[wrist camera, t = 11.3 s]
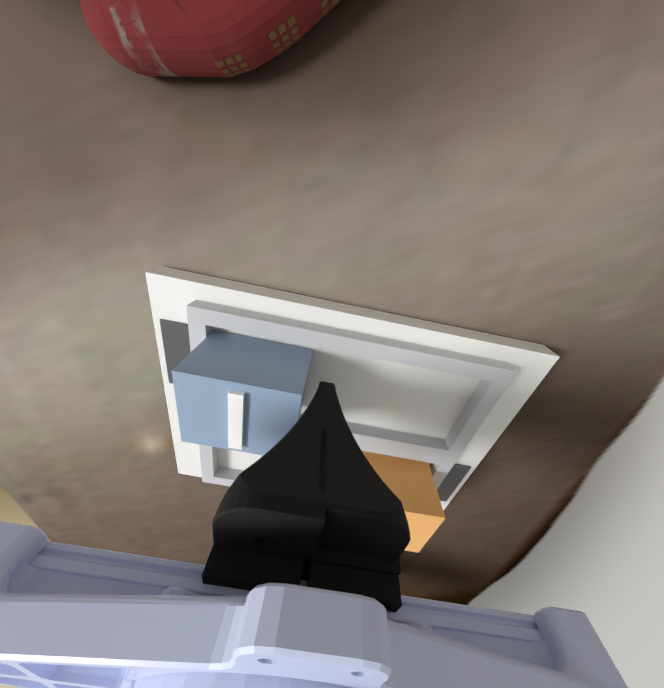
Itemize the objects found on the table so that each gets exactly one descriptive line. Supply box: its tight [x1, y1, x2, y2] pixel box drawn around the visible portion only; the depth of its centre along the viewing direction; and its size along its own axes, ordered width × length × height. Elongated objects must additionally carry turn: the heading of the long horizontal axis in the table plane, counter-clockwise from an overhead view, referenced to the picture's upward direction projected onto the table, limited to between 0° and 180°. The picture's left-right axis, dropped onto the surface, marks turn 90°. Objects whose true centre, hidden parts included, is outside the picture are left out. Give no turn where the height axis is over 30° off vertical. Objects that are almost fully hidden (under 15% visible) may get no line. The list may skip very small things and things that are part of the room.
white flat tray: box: [146, 266, 559, 510], centre depth 16 cm, size 15×20×2 cm
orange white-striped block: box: [362, 451, 445, 553], centre depth 16 cm, size 4×5×4 cm
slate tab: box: [172, 330, 313, 455], centre depth 12 cm, size 4×5×4 cm
